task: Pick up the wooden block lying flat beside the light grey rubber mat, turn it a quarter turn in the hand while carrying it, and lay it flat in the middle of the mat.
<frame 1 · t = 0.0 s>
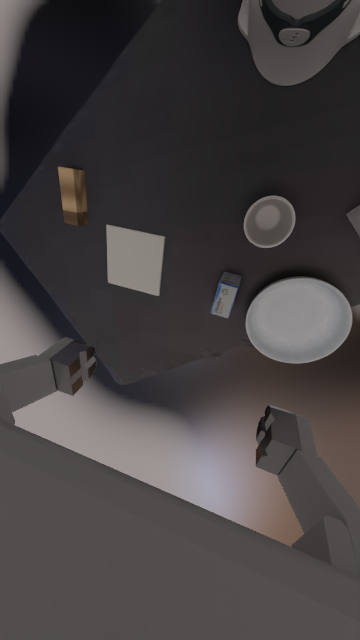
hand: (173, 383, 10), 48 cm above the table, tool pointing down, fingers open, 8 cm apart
medicine box: (228, 287, 58), on the table
mat: (134, 261, 62), on the table
wooden block: (79, 197, 58), on the table
serving bowl: (291, 311, 56), on the table
dixie cup: (267, 218, 48), on the table
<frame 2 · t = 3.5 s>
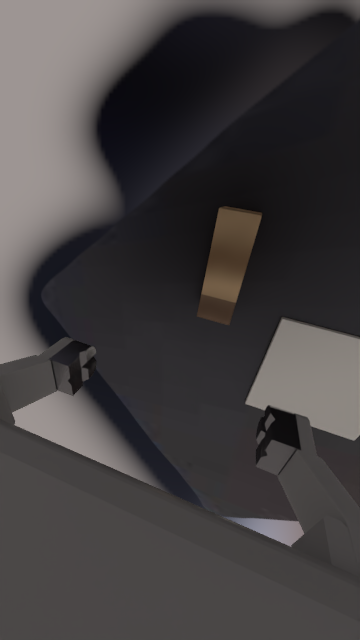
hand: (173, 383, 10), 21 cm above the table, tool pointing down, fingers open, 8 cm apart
mat: (320, 381, 31), on the table
wooden block: (229, 263, 28), on the table
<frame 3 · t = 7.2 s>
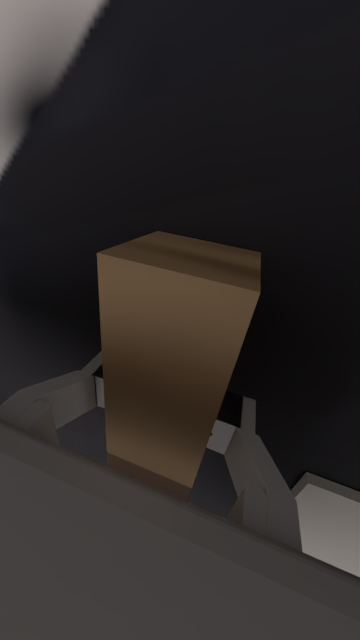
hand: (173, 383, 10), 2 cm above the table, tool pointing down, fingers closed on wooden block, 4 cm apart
wooden block: (183, 361, 12), on the table, touching gripper
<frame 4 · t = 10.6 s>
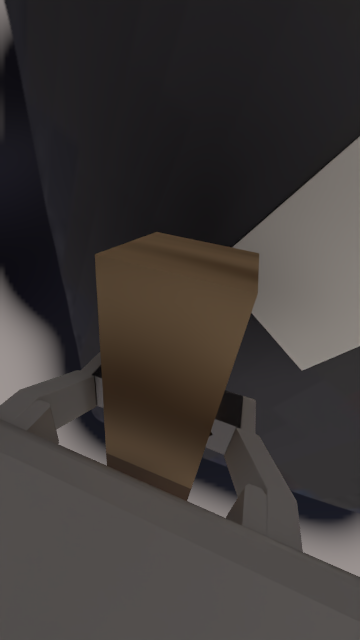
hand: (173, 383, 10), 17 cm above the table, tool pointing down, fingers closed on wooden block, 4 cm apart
mat: (331, 273, 22), on the table
wooden block: (183, 361, 12), point 15 cm above the table, touching gripper
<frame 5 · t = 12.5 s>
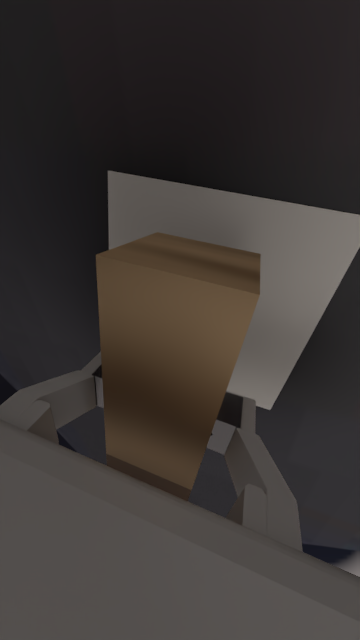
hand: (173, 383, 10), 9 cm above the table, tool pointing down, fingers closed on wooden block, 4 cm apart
mat: (203, 305, 18), on the table
wooden block: (183, 362, 12), point 7 cm above the table, touching gripper
when the fingers open (4 cm above the table, at t = 14.2 s): wooden block drops 1 cm, resting on mat.
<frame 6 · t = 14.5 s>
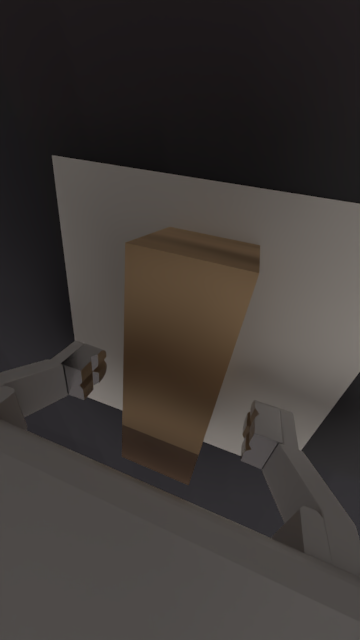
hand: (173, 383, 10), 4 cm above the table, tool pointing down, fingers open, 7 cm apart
mat: (194, 340, 13), on the table
wooden block: (190, 345, 13), point 1 cm above the table, touching mat
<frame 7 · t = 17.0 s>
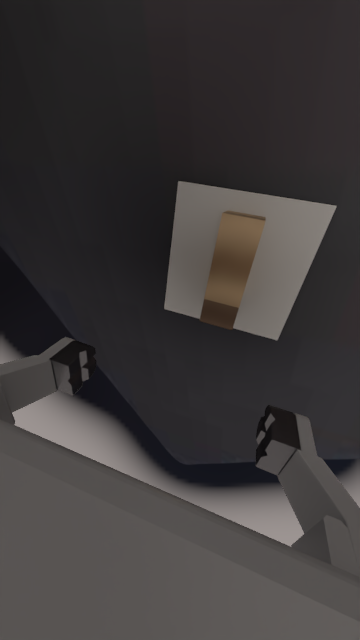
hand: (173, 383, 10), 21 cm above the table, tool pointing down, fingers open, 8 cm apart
mat: (233, 266, 28), on the table
wooden block: (232, 267, 27), point 1 cm above the table, touching mat
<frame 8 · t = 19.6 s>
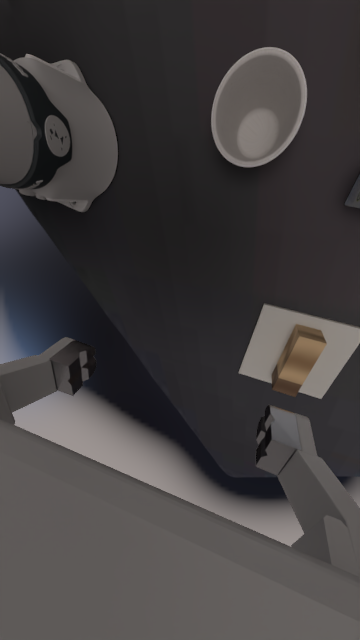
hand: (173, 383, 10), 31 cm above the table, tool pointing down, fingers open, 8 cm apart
mat: (294, 352, 42), on the table
wooden block: (294, 354, 41), point 1 cm above the table, touching mat
dixie cup: (257, 135, 29), on the table
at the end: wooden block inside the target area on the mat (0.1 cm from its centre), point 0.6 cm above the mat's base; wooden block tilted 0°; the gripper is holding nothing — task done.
